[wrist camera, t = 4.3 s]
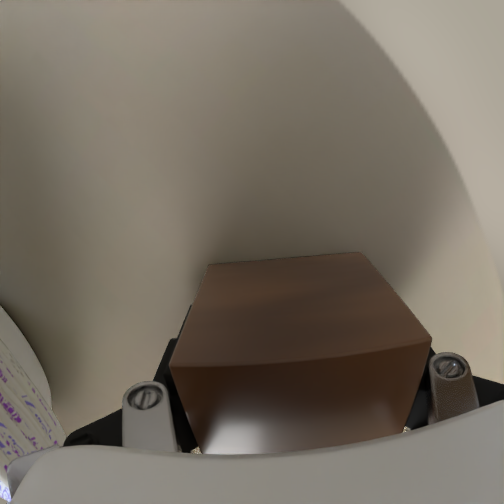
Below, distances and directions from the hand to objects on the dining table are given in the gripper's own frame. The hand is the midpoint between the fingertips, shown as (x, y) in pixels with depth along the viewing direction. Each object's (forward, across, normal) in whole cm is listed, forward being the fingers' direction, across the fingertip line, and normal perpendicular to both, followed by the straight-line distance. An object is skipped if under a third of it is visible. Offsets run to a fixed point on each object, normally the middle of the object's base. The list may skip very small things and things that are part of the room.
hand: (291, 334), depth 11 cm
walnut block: (+1, 0, 0) cm, 1 cm away
